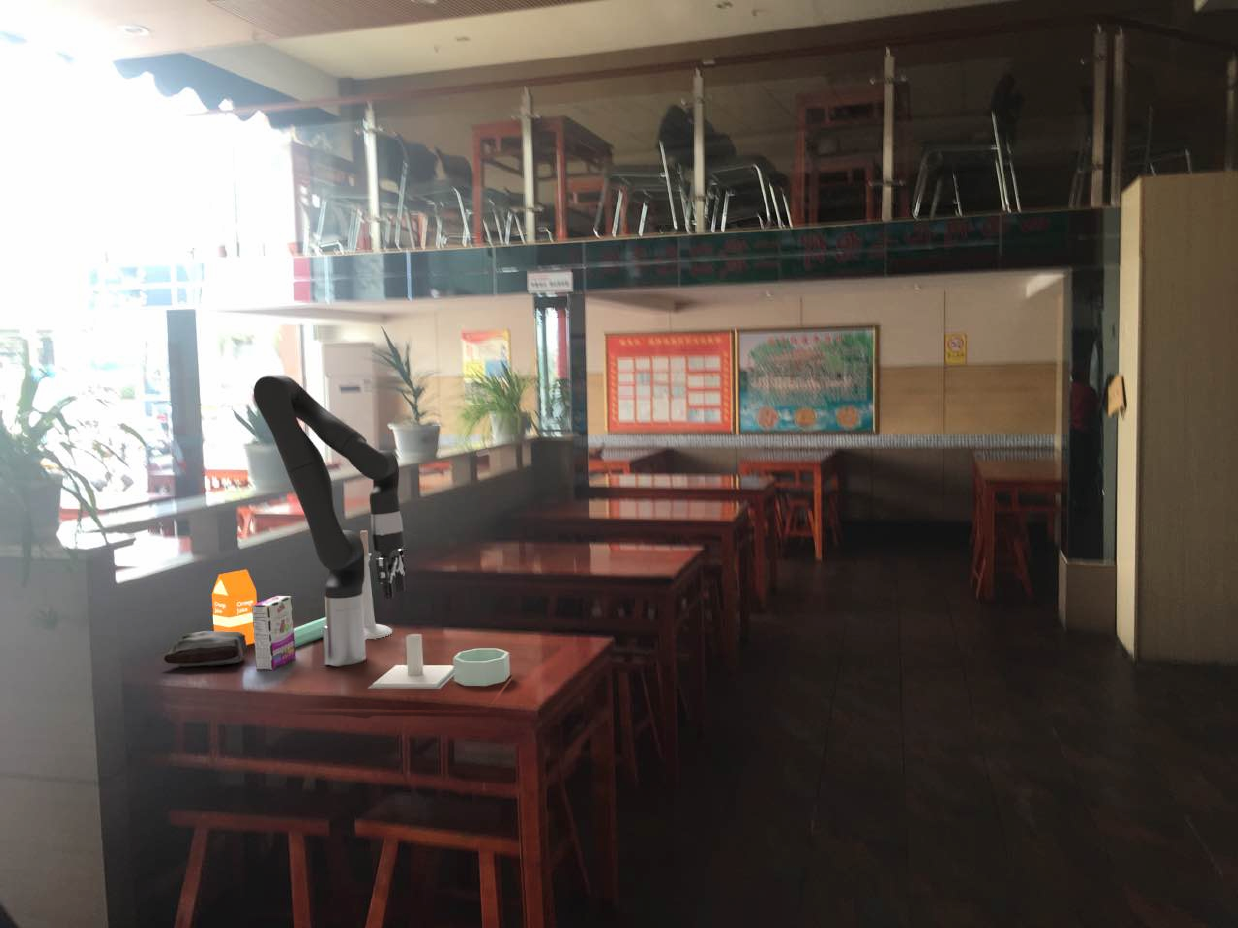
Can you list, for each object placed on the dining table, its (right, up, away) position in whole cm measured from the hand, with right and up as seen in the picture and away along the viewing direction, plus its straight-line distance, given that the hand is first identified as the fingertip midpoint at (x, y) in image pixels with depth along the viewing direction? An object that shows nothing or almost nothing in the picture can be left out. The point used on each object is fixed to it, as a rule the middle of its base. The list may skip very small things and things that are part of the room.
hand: (394, 594), depth 245 cm
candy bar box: (-31, -18, +3) cm, 36 cm away
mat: (+8, -18, -15) cm, 25 cm away
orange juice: (-49, -17, +25) cm, 58 cm away
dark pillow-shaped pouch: (-48, -19, +4) cm, 51 cm away
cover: (+8, -18, -15) cm, 24 cm away
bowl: (+24, -18, -17) cm, 34 cm away
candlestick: (-14, -16, +31) cm, 38 cm away
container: (-30, -17, +25) cm, 43 cm away
